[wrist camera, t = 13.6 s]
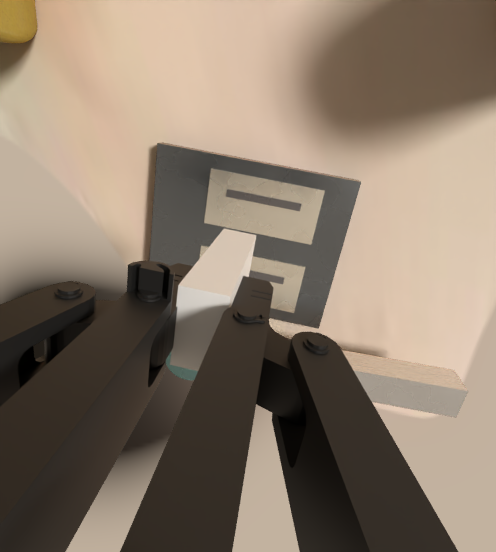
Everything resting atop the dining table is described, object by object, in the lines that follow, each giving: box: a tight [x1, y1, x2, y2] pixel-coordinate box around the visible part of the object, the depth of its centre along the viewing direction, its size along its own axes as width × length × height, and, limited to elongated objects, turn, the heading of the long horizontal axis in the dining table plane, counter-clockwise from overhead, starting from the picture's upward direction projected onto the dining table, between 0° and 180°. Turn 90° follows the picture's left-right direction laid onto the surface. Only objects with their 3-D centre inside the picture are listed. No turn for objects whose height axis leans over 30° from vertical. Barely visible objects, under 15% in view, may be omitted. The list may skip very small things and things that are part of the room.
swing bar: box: [166, 350, 468, 417], centre depth 28 cm, size 23×4×3 cm, turn 83°
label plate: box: [149, 143, 361, 328], centre depth 30 cm, size 16×13×2 cm
